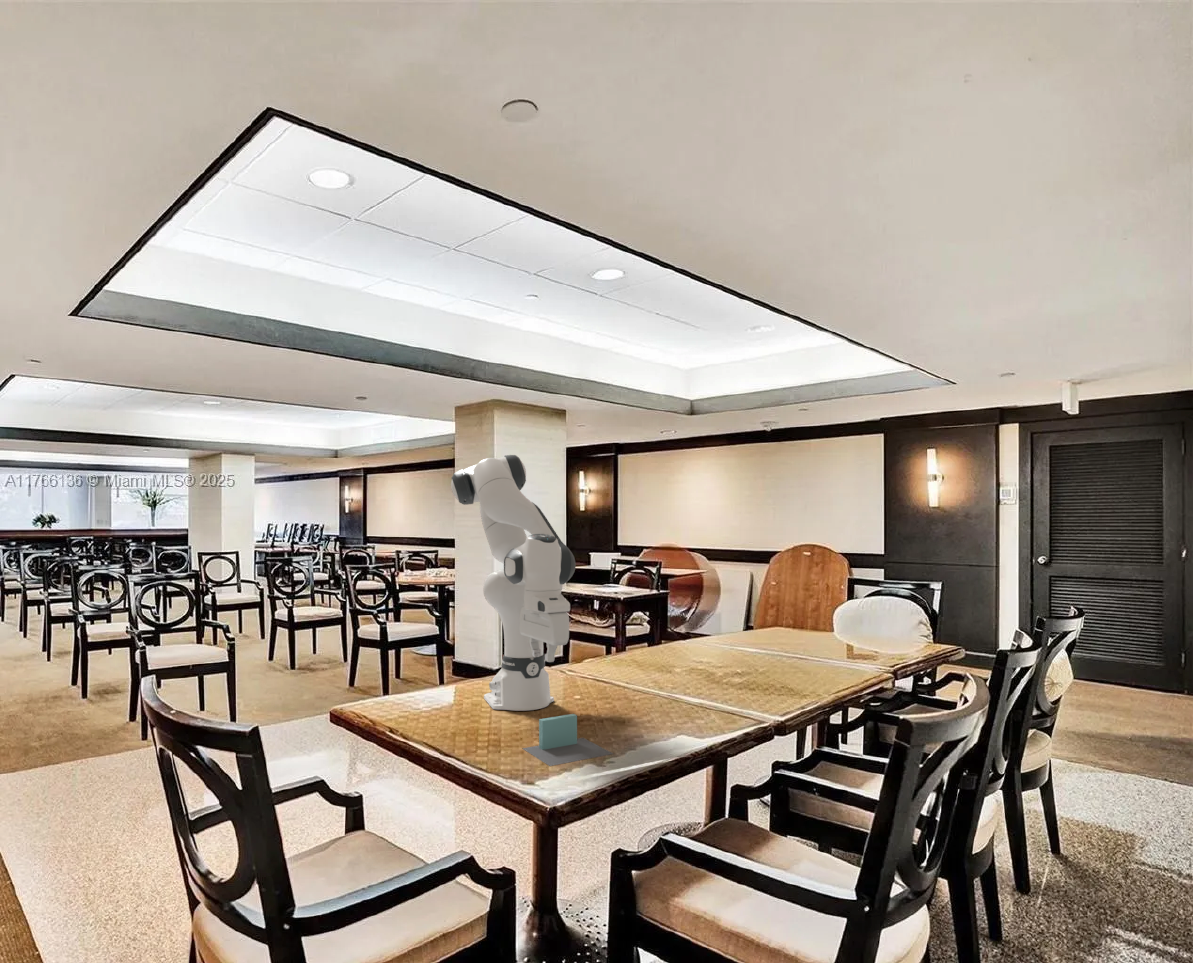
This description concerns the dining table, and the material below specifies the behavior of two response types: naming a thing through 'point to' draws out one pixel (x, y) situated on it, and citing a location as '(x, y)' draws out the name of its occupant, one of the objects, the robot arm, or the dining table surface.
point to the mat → (568, 752)
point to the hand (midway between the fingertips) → (542, 659)
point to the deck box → (557, 731)
